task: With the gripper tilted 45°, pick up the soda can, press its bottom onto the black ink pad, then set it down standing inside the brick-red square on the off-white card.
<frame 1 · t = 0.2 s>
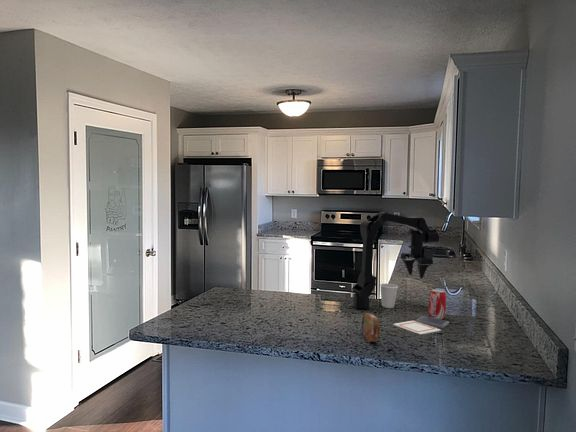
hand: (415, 276, 214), 14 cm above the counter, tool pointing down, fingers open, 9 cm apart
brown oval slab: (369, 339, 163), on the counter
print card: (416, 327, 180), on the counter
dixie cup: (387, 306, 213), on the counter
soda can: (436, 318, 196), on the counter
ink pad: (432, 323, 187), on the counter
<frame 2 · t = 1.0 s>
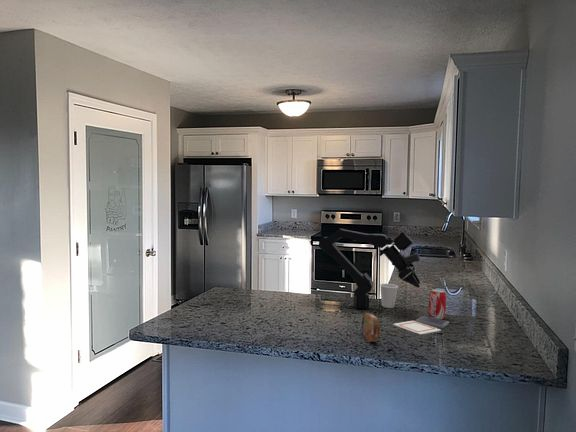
hand: (419, 285, 198), 13 cm above the counter, tool tilted 45°, fingers open, 9 cm apart
nothing on the counter moved.
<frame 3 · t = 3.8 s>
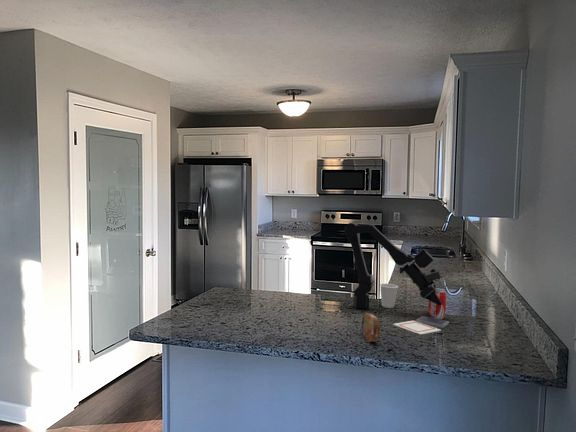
hand: (440, 303, 196), 7 cm above the counter, tool tilted 45°, fingers closed on soda can, 7 cm apart
soda can: (436, 318, 196), on the counter, touching gripper
everything else where it was.
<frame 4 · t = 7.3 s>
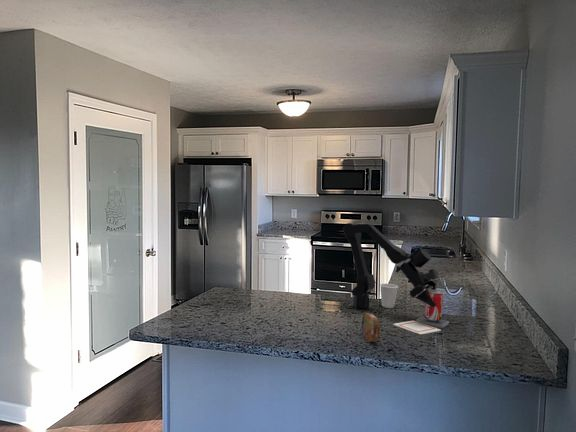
hand: (437, 305, 186), 8 cm above the counter, tool tilted 45°, fingers closed on soda can, 7 cm apart
soda can: (432, 319, 188), point 1 cm above the counter, touching gripper, ink pad
everything else where it was.
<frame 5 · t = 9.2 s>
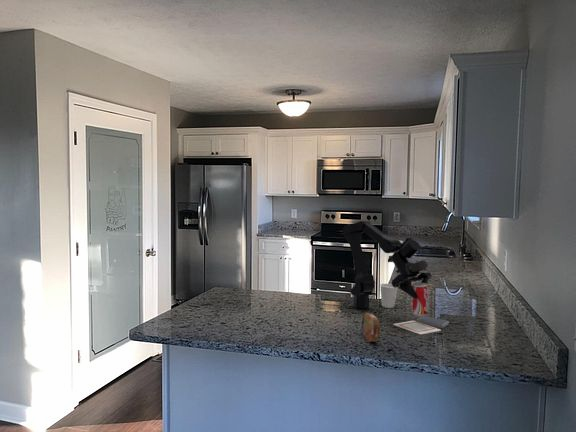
hand: (422, 297, 178), 12 cm above the counter, tool tilted 45°, fingers closed on soda can, 7 cm apart
soda can: (419, 314, 181), point 5 cm above the counter, touching gripper
everything else where it was.
when the fingers open (8 cm above the counter, at t = 10.8 s): soda can stays where it is, resting on print card.
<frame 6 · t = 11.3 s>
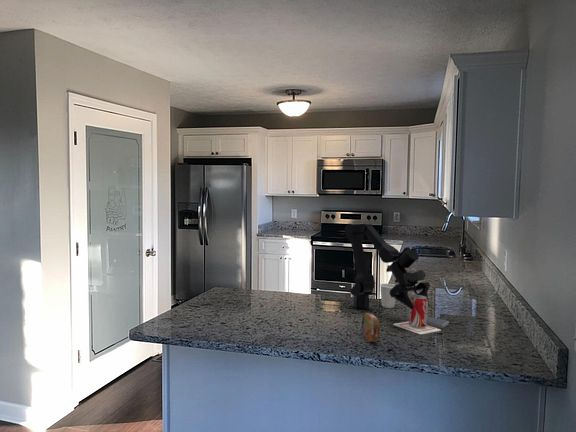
hand: (420, 307, 178), 8 cm above the counter, tool tilted 45°, fingers open, 9 cm apart
soda can: (417, 326, 181), resting on print card
everything else where it was.
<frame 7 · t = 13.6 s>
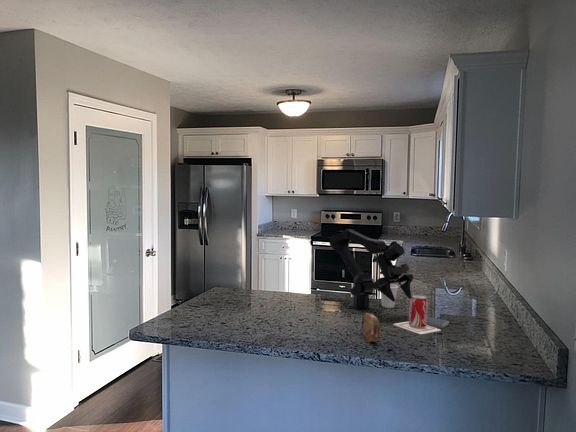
hand: (402, 299, 187), 9 cm above the counter, tool tilted 40°, fingers open, 9 cm apart
nothing on the counter moved.
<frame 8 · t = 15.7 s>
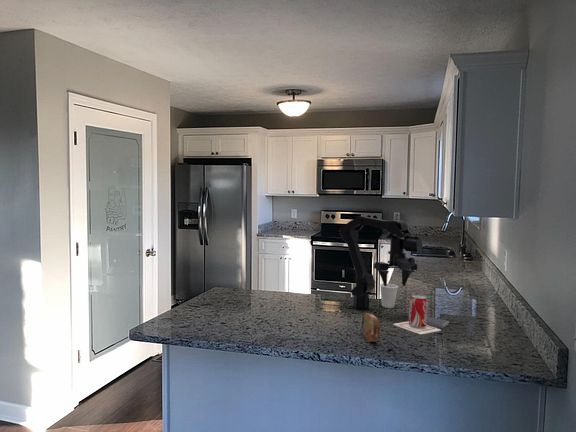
hand: (394, 285, 196), 13 cm above the counter, tool pointing down, fingers open, 9 cm apart
nothing on the counter moved.
at the end: soda can 0.9 cm off-centre on the print card, point 0.1 cm above the print card's base; soda can tilted 0°; the gripper is holding nothing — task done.
